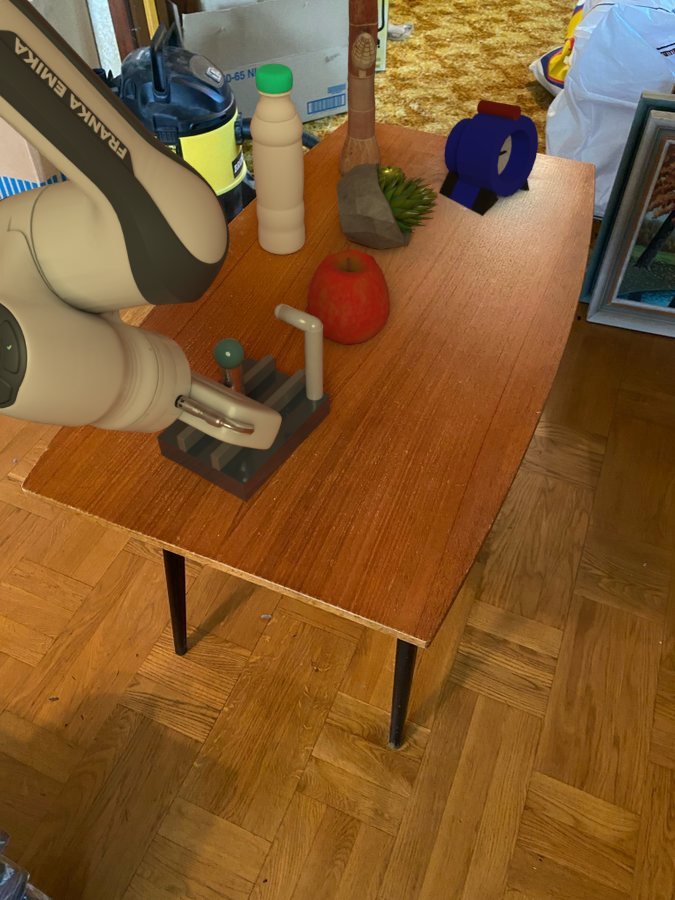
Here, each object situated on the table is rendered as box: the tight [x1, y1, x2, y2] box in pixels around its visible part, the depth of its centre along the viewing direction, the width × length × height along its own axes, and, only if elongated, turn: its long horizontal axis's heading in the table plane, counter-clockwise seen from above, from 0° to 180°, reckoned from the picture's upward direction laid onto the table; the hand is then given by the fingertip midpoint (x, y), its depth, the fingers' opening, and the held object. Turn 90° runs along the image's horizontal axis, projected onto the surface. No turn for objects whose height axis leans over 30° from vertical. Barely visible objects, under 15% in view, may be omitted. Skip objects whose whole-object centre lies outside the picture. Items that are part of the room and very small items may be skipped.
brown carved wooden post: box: [338, 0, 382, 178], centre depth 112 cm, size 10×7×30 cm
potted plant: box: [336, 163, 439, 250], centre depth 105 cm, size 12×13×15 cm
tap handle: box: [212, 337, 246, 396], centre depth 74 cm, size 3×4×12 cm
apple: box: [306, 249, 391, 346], centre depth 91 cm, size 11×11×11 cm
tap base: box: [156, 303, 331, 503], centre depth 77 cm, size 12×16×14 cm
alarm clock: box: [438, 99, 539, 217], centre depth 114 cm, size 12×12×15 cm
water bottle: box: [249, 63, 306, 256], centre depth 99 cm, size 7×7×25 cm
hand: (223, 396), depth 74 cm, fingers closed
